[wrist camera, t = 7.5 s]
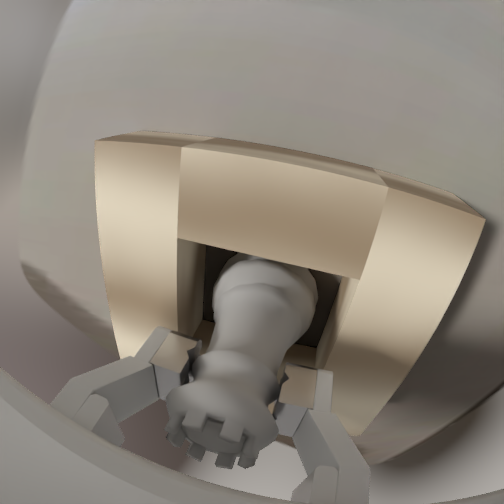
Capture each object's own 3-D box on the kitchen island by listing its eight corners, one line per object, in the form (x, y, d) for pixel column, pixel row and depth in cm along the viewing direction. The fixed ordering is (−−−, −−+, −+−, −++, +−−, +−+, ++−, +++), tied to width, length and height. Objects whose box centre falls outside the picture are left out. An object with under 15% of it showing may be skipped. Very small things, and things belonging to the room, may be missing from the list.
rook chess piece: (339, 292, 13) (333, 466, 6) (270, 340, 15) (224, 485, 8) (265, 221, 12) (181, 374, 5) (202, 282, 14) (111, 417, 7)
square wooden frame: (140, 130, 11) (94, 140, 9) (452, 193, 10) (485, 219, 7) (148, 339, 17) (124, 372, 14) (359, 393, 15) (359, 436, 13)
